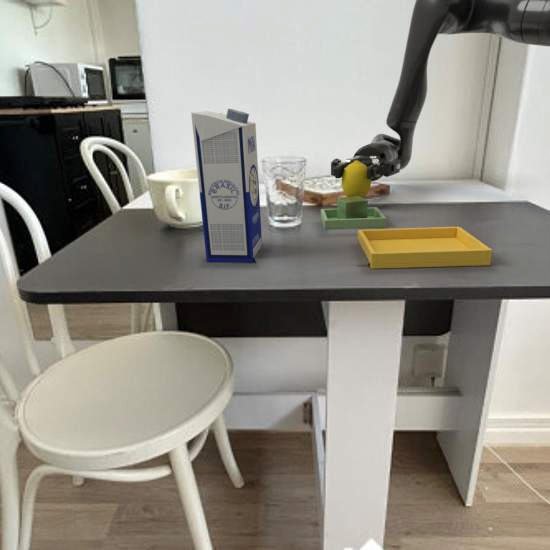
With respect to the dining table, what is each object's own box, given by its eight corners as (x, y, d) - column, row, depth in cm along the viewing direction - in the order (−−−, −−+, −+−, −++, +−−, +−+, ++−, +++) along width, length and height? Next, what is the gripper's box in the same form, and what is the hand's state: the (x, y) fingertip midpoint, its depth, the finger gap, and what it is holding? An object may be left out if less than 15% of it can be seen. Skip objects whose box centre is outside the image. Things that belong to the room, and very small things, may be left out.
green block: (357, 218, 79) (358, 195, 77) (367, 223, 75) (368, 200, 74) (336, 220, 78) (337, 197, 76) (345, 225, 74) (345, 202, 73)
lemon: (339, 205, 83) (339, 162, 80) (344, 199, 88) (344, 158, 85) (368, 205, 82) (370, 162, 79) (371, 199, 87) (373, 158, 84)
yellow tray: (457, 239, 66) (459, 226, 66) (490, 265, 56) (492, 249, 55) (357, 243, 67) (357, 229, 66) (370, 268, 57) (371, 253, 56)
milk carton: (220, 246, 68) (207, 109, 61) (262, 247, 67) (254, 107, 60) (206, 262, 62) (190, 110, 54) (252, 262, 60) (243, 108, 53)
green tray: (376, 218, 80) (376, 207, 80) (386, 230, 73) (386, 218, 72) (320, 220, 81) (320, 209, 80) (324, 232, 73) (324, 220, 72)
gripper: (342, 143, 96) (315, 152, 82) (409, 142, 90) (393, 152, 76) (342, 177, 99) (316, 192, 85) (407, 179, 93) (391, 194, 79)
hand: (352, 173), depth 81 cm, fingers closed on lemon, 5 cm apart
